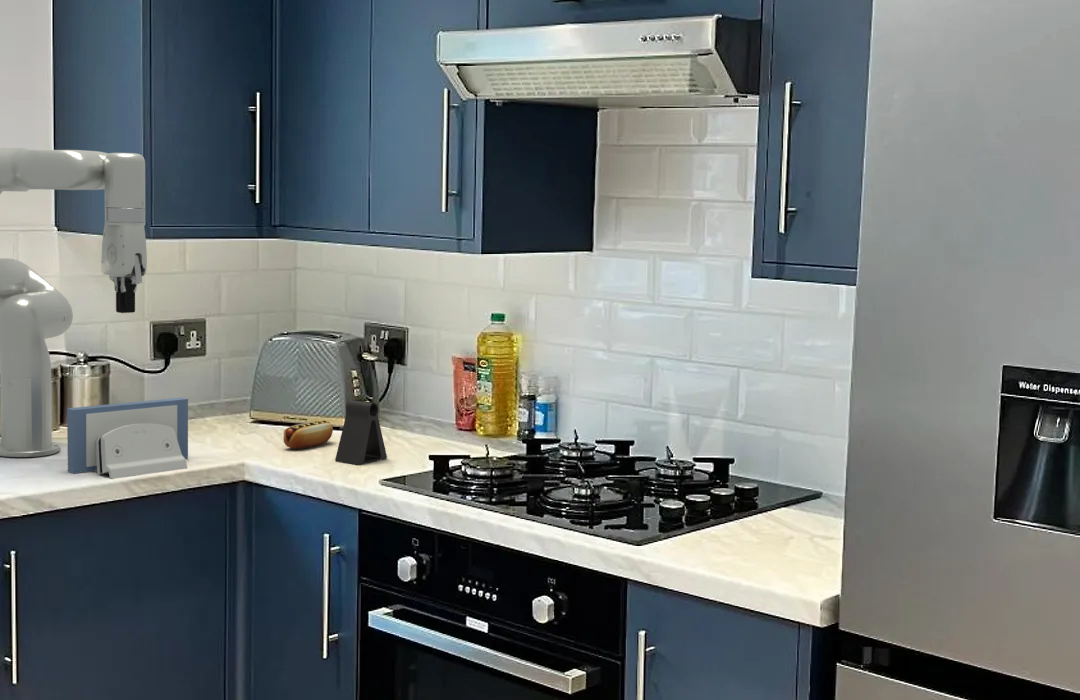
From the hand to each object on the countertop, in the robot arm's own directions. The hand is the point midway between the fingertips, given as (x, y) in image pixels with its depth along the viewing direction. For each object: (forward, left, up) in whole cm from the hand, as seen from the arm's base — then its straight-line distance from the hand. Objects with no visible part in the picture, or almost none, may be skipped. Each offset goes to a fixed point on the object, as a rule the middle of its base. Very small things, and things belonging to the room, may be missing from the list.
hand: (125, 312), depth 278 cm
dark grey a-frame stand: (+27, +37, -29) cm, 54 cm away
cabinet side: (+5, -2, -29) cm, 30 cm away
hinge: (+10, -3, -30) cm, 31 cm away
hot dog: (+9, +37, -29) cm, 48 cm away
